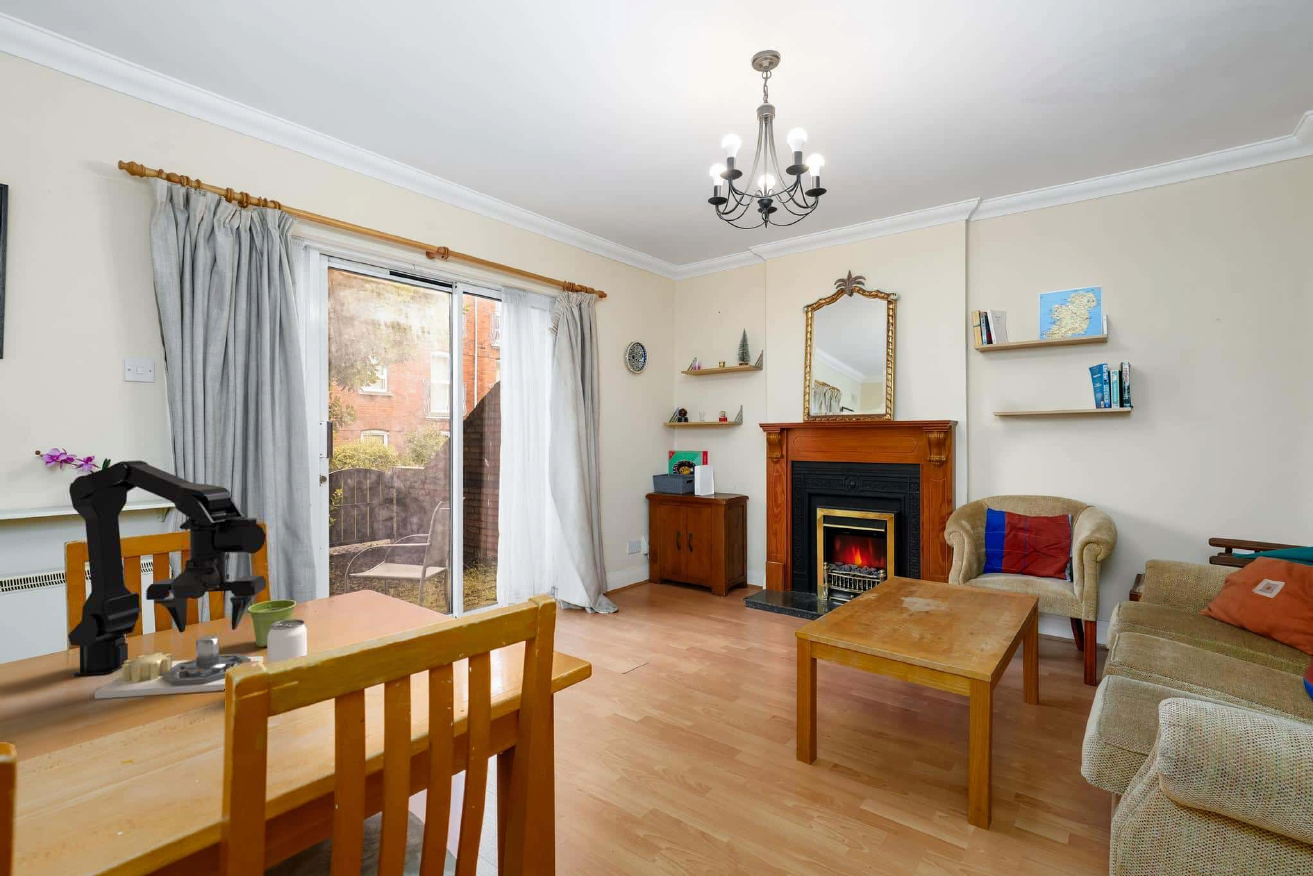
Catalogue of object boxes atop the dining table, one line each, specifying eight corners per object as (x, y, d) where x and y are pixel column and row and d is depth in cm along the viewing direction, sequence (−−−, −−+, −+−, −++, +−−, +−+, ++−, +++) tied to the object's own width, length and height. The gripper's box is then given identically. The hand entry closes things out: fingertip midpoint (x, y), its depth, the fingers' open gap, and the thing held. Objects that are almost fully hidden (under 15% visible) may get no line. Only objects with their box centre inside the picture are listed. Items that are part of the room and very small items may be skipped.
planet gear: (168, 682, 114) (167, 648, 114) (194, 664, 123) (194, 632, 123) (221, 679, 116) (221, 645, 116) (243, 661, 125) (243, 630, 125)
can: (288, 695, 112) (288, 630, 112) (258, 691, 113) (258, 628, 113) (314, 681, 118) (314, 619, 118) (286, 678, 120) (286, 617, 120)
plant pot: (304, 641, 141) (304, 603, 140) (260, 653, 133) (260, 614, 132) (283, 633, 146) (283, 597, 145) (239, 645, 138) (239, 606, 138)
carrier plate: (94, 698, 110) (94, 675, 110) (144, 668, 124) (144, 648, 124) (229, 690, 114) (229, 667, 114) (263, 661, 128) (263, 642, 128)
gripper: (126, 562, 110) (126, 648, 110) (240, 558, 113) (241, 641, 113) (164, 550, 121) (164, 628, 121) (267, 547, 124) (267, 623, 124)
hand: (208, 630), depth 119 cm, fingers open, 9 cm apart
